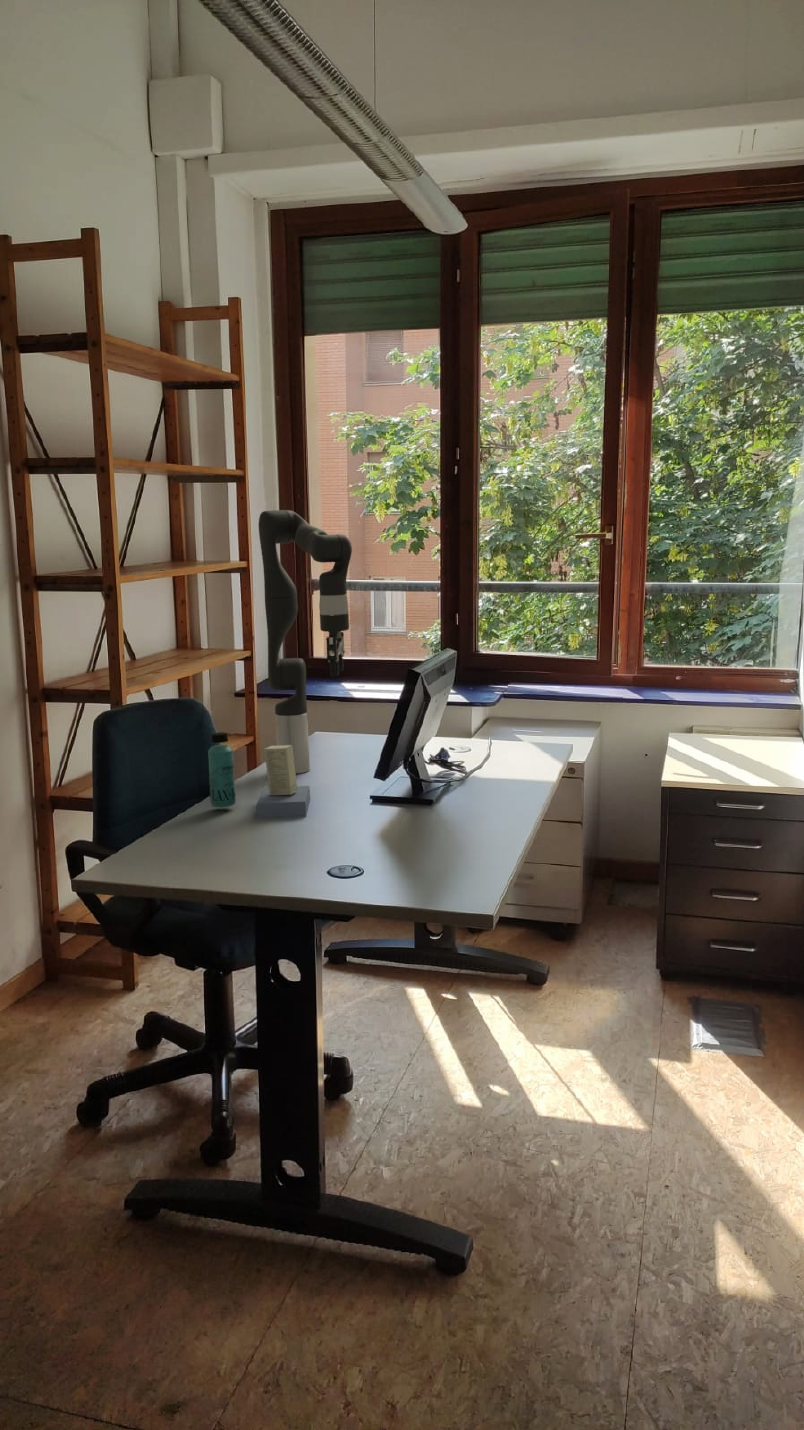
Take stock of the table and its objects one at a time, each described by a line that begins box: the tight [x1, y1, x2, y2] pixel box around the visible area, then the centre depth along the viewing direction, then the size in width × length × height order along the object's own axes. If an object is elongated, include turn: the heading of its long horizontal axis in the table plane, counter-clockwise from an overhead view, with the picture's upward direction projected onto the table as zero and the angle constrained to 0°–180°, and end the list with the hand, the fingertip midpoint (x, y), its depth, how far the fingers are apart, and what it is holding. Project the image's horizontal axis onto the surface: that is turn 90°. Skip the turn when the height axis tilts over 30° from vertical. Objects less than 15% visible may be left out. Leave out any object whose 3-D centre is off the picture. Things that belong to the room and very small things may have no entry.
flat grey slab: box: [256, 785, 311, 819], centre depth 268 cm, size 16×12×4 cm
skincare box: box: [263, 744, 298, 795], centre depth 267 cm, size 6×4×12 cm
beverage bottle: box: [207, 731, 237, 808], centre depth 268 cm, size 6×7×20 cm
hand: (336, 673), depth 278 cm, fingers open, 8 cm apart
